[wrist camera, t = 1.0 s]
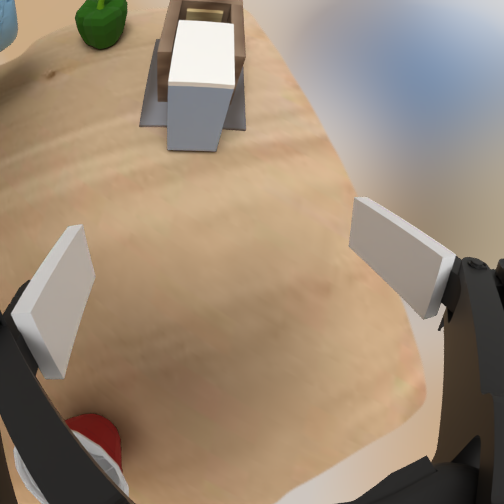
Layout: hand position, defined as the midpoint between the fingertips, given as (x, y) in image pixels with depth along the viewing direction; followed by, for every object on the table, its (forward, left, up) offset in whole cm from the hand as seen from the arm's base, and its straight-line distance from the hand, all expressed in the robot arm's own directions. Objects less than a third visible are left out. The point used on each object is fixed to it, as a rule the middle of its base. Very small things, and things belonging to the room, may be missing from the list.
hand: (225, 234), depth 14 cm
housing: (-1, +29, -21) cm, 36 cm away
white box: (-1, +21, -20) cm, 29 cm away
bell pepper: (-17, +39, -21) cm, 48 cm away
